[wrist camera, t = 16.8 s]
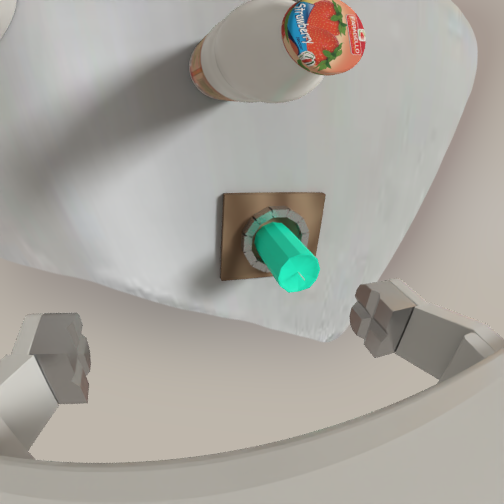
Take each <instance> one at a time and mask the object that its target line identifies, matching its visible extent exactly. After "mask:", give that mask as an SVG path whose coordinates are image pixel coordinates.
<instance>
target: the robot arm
mask: <svg viewBox="0 0 504 504" xmlns="http://www.w3.org/2000/svg"><path fill="white" fill-rule="evenodd" d="M16 2H17V0H0V39H1V38H2V36H3V35H4V33H5V32H6V30H7V28H8V26H9V24H10V22H11V20H12V18H13V15H14V12H15V8H16ZM355 297H356V299H357V302H356V303H355V304H354V306H353V307H352V308H351V312H350V325H351V327H352V330H353V331H354V332H355V334H356V335H357V336H359V337H361V338H363V339H364V345H365V346H366V348H367V349H368V350H369V351H370V353H371V354H372V355H373V356H374V358H376V357H380V356H384V355H387V354H391V353H395V352H396V353H395V354H397V355H398V356H400V357H402V358H404V359H405V360H407V361H408V362H410V363H412V364H413V365H415V366H417V367H419V368H420V369H422V370H424V371H425V372H427V373H429V374H430V375H432V376H434V377H435V378H437V379H439V382H438V383H437V384H436V385H434V386H432V387H430V388H428V389H426V390H424V391H421V392H419V393H417V394H415V395H413V396H410V397H408V398H406V399H403V400H401V401H399V402H396V403H394V404H392V405H389V406H387V407H384V408H381V409H379V410H376V411H374V412H371V413H368V414H366V415H363V416H360V417H358V418H355V419H352V420H349V421H346V422H343V423H340V424H337V425H334V426H331V427H327V428H324V429H321V430H318V431H314V432H311V433H308V434H304V435H301V436H296V437H293V438H289V439H285V440H281V441H277V442H273V443H268V444H264V445H259V446H255V447H250V448H245V449H240V450H234V451H229V452H223V453H217V454H211V455H204V456H196V457H188V458H180V459H170V460H160V461H146V462H126V463H73V462H54V461H42V460H35V459H34V457H33V456H32V455H31V454H30V453H29V452H28V450H29V449H30V447H31V446H32V444H33V443H34V441H35V440H36V438H37V437H38V435H39V434H40V432H41V431H42V429H43V428H44V427H45V425H46V424H47V422H48V421H49V419H50V418H51V416H52V415H53V413H54V412H55V411H56V409H57V408H58V406H59V405H58V404H78V403H79V404H80V403H88V390H89V383H88V380H87V378H86V375H87V374H88V373H89V372H90V365H91V361H90V350H89V346H88V342H87V338H86V337H85V336H83V335H82V334H81V331H82V326H83V325H82V322H81V319H80V316H79V314H78V313H45V314H28V315H26V316H25V318H24V321H23V323H22V326H21V329H20V331H19V334H18V336H17V339H16V342H15V345H14V348H13V350H12V353H11V355H5V356H4V357H3V358H2V359H1V360H0V504H504V339H503V338H502V337H501V336H500V335H499V334H497V333H496V332H495V331H494V330H493V329H492V328H491V327H490V326H489V325H487V324H485V323H482V322H480V321H477V320H475V319H472V318H470V317H467V316H465V315H462V314H460V313H457V312H455V311H452V310H449V309H446V308H444V307H442V306H439V305H436V304H434V303H427V301H425V300H424V299H423V298H422V297H421V296H420V295H419V294H417V293H416V292H415V291H414V290H413V289H412V288H411V287H410V286H408V285H407V284H406V283H405V282H404V281H402V280H401V279H398V278H394V279H389V280H385V281H381V282H374V283H368V284H362V285H360V286H359V287H358V289H357V291H356V294H355Z"/></svg>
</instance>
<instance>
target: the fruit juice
mask: <svg viewBox="0 0 504 504" xmlns="http://www.w3.org/2000/svg"><path fill="white" fill-rule="evenodd" d="M364 49H365V32H364V28H363V25H362V23H361V21H360V19H359V17H358V16H357V14H356V13H355V12H354V11H353V10H352V9H351V8H350V7H349V6H348V5H346V4H345V3H343V2H342V1H340V0H300V1H298V2H295V1H292V0H251V1H248V2H246V3H244V4H242V5H240V6H239V7H237V8H236V9H234V10H233V11H232V12H231V13H230V14H229V15H228V16H227V17H226V18H225V19H223V20H222V21H221V22H219V23H218V24H217V25H215V26H214V27H213V28H212V30H211V31H210V32H209V33H208V34H207V35H206V36H205V37H204V38H203V40H202V41H201V42H200V43H199V44H198V45H197V46H196V48H195V49H194V51H193V52H192V55H191V57H190V62H189V72H190V76H191V79H192V81H193V83H194V85H195V86H196V87H197V88H198V90H199V91H201V92H202V93H203V94H205V95H206V96H208V97H210V98H213V99H217V100H227V101H239V102H247V103H253V102H264V103H284V102H289V101H293V100H296V99H299V98H301V97H303V96H305V95H306V94H308V93H309V92H311V91H312V90H313V89H314V88H316V87H317V85H318V84H319V83H320V82H321V81H322V79H323V78H324V76H325V75H335V74H340V73H343V72H346V71H348V70H349V69H351V68H353V67H354V66H355V65H356V64H357V63H358V62H359V60H360V59H361V57H362V55H363V52H364Z"/></svg>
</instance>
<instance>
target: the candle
mask: <svg viewBox="0 0 504 504" xmlns="http://www.w3.org/2000/svg"><path fill="white" fill-rule="evenodd" d="M254 244H255V247H256V250H257V252H258V253H259V255H260V256H261V258H262V260H263V261H264V263H265V264H266V266H267V267H268V269H269V270H270V272H271V273H272V275H273V276H274V278H275V279H276V281H277V282H278V284H279V285H280V286H281V287H282V288H283V289H285V290H286V291H287V292H298V291H301V290H304V289H308V288H310V287H311V285H312V284H313V283H314V282H315V281H316V279H317V277H318V274H319V271H320V267H319V263H318V259H317V258H316V257H315V256H314V255H313V254H312V253H311V252H310V251H309V250H308V249H307V247H306V246H305V245H304V244H303V243H302V242H301V241H300V240H299V239H298V238H297V237H296V236H295V235H294V234H293V233H292V232H291V231H290V230H289V229H288V228H287V227H286V226H285V225H284V224H282V223H278V222H271V223H268V224H266V225H264V226H262V227H261V229H260V230H259V231H258V232H257V233H256V236H255V241H254Z"/></svg>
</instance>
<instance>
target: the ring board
mask: <svg viewBox="0 0 504 504" xmlns="http://www.w3.org/2000/svg"><path fill="white" fill-rule="evenodd" d="M324 202H325V194H324V193H307V192H275V193H223V214H222V241H221V273H220V278H221V280H222V281H226V280H237V279H248V278H258V277H269V276H273V275H272V273H271V272H267V273H266V271H265V272H263V271H261V270H259V269H256V268H254V267H252V265H250V263H249V261H248V260H247V258H246V256H245V254H244V253H243V251H242V249H241V236H242V232H243V231H242V230H243V228H244V227H245V225H246V224H247V222H248V221H249V219H250V218H251V216H252V217H254V216H253V215H254V214H256V213H257V212H259V211H261V210H263V209H264V208H266V207H268V208H269V206H287V207H289V208H290V209H292V210H293V211H295V212H297V213H298V214H299V215H301V216H302V217H303V218H304V220H305V223H306V225H307V227H308V230H309V238H308V244H307V249H308V250H309V251H310V252H311V253H312V254H313V255H314V256H316V251H317V245H318V239H319V233H320V227H321V221H322V215H323V208H324ZM271 222H278V223H282V224H284V225H285V226H286V227H287V228H288V229H289V230H290V231H291V232H292V233H293V234H294V235H295V236H296V237H297V234H298V229H297V227H296V224H295V222H294V221H293V220H291V219H289V218H288V217H276V218H272V219H270V220H268V221H267V222H265V223H263V224H261V225H260V226H259V228H258V230H257V231H256V233H257V232H258V231H259V230H260V229H261V227H262V226H264V225H266V224H268V223H271ZM256 233H255V234H254V236H253V237H252V249H251V250H252V252H253V254H254V256H256V257H258V258H260V259H262V258H261V256H260V255H259V253H258V252H257V250H256V247H255V244H254V241H255V236H256Z"/></svg>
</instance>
